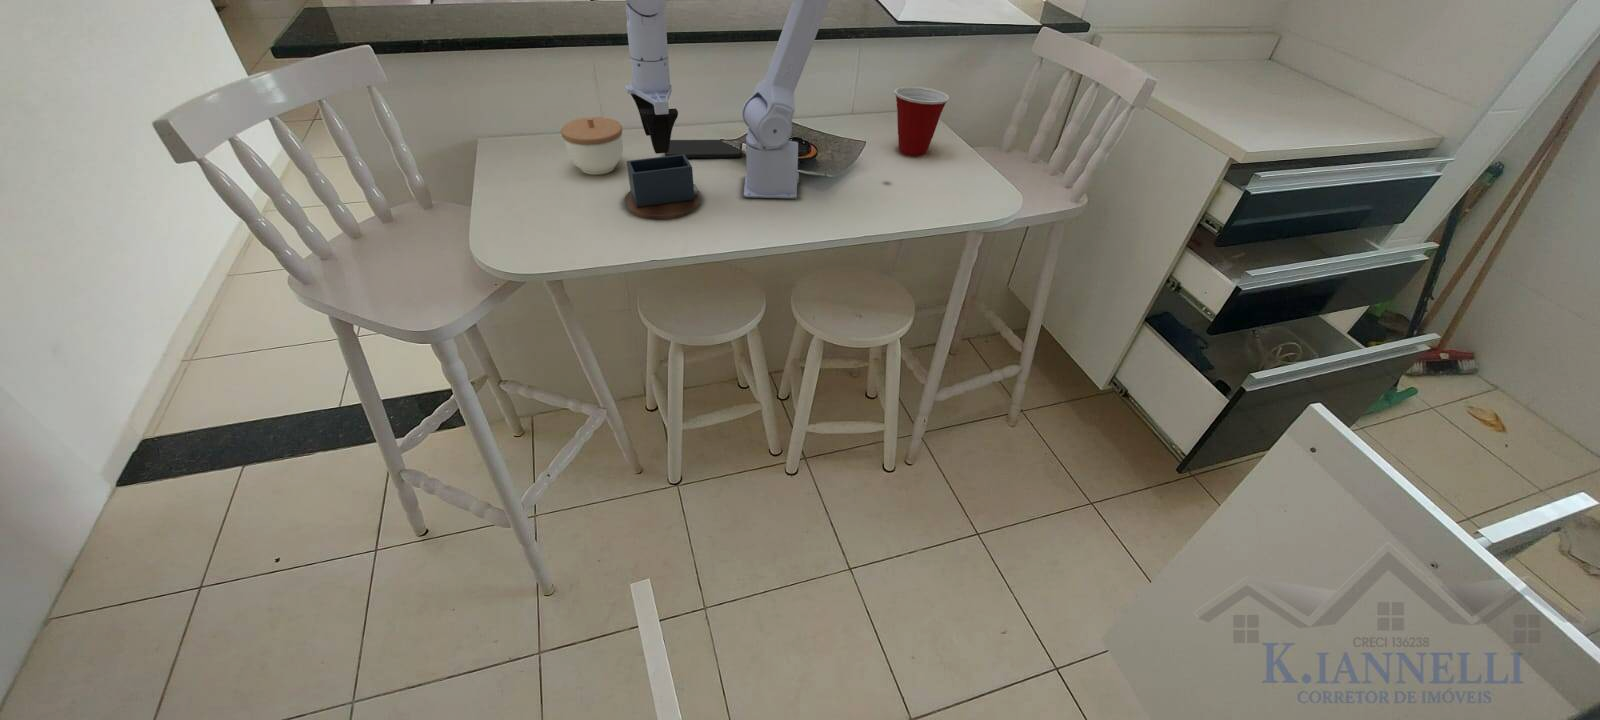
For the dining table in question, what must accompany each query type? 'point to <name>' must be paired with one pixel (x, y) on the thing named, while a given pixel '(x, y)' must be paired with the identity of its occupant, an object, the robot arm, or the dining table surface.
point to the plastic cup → (917, 118)
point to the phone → (702, 149)
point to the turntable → (663, 208)
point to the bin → (661, 180)
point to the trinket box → (594, 144)
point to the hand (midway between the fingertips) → (656, 143)
